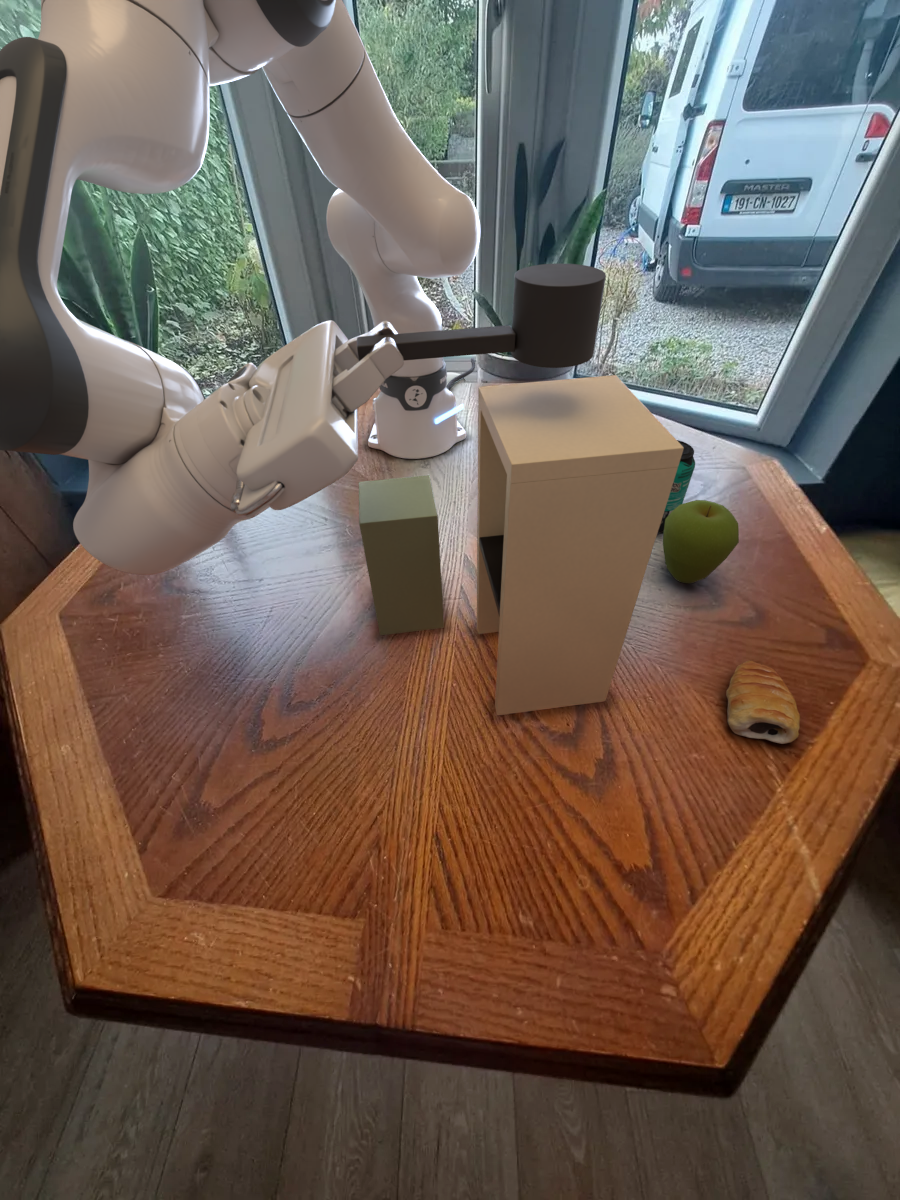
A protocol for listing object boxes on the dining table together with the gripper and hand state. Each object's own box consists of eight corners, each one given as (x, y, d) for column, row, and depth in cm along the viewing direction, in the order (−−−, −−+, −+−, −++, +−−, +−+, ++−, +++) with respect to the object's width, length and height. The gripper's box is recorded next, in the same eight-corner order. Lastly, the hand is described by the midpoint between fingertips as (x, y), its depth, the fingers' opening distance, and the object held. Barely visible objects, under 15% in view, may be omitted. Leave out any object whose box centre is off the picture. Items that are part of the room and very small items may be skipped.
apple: (637, 566, 72) (658, 495, 64) (687, 551, 74) (713, 480, 66) (678, 607, 66) (706, 534, 58) (731, 589, 68) (766, 517, 60)
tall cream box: (476, 627, 65) (478, 386, 44) (570, 616, 66) (616, 374, 45) (496, 715, 56) (511, 464, 35) (605, 701, 56) (684, 447, 35)
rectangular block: (377, 591, 70) (358, 481, 58) (436, 585, 71) (429, 474, 59) (380, 635, 64) (359, 523, 52) (444, 628, 65) (437, 515, 53)
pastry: (718, 665, 59) (730, 643, 57) (783, 678, 58) (798, 656, 55) (725, 735, 53) (738, 715, 50) (798, 752, 52) (816, 731, 49)
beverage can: (630, 504, 83) (648, 433, 74) (676, 512, 81) (700, 440, 72) (624, 529, 78) (642, 456, 70) (673, 538, 76) (698, 465, 68)
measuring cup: (360, 353, 39) (349, 277, 36) (578, 336, 41) (588, 260, 37) (360, 384, 35) (348, 301, 32) (605, 364, 36) (619, 282, 33)
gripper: (185, 491, 31) (372, 353, 27) (239, 364, 45) (365, 262, 41) (265, 557, 35) (438, 445, 31) (291, 420, 49) (411, 333, 45)
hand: (396, 340), depth 36 cm, fingers closed on measuring cup
